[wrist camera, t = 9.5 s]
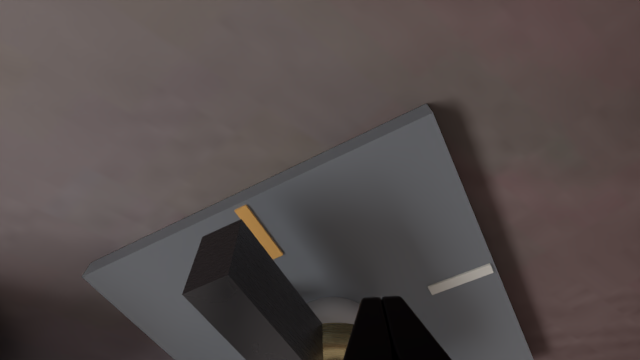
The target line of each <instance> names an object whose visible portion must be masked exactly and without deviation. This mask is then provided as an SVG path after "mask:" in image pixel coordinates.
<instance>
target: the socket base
mask: <svg viewBox="0 0 640 360" xmlns="http://www.w3.org/2000/svg"><path fill="white" fill-rule="evenodd" d="M240 219H242V220H243V222H244V223H245V224H246V225H247V227H248V228H249V229H250V231H251V232H252V233H253V234H254V236H255V237H256V238H257V240H258V241H259V242H260V244H261V245H262V246H263V247H264V249H265V250H266V251H267V253H268V254H269V255H270V257H271V258H272V259H273V260H274V262H275V263H276V264H277V266H278V267H279V268H280V269H281V271H282V272H283V273H284V275H285V276H286V277H287V279H288V280H289V281H290V282H291V284H292V285H293V286H294V288H295V289H296V290H297V291H298V293H299V294H300V295H301V297H302V298H303V299H304V301H305V302H306V303H307V304H308V306H309V307H310V308H311V310H312V311H313V312H314V314H315V315H316V316H317V317H318V319H319V320H320V321H321V323H322V324H323V323H348V324H354V322H355V318H356V315H357V312H358V309H359V305H360V302H361V300H362V298H364V297H380V298H381V299H382V297H384V296H401V297H402V298H403V299H404V301H405V302H406V303H407V304H408V306H409V307H410V308H411V309H412V311H413V312H414V313H415V314H416V316H417V317H418V318H419V319H420V321H421V322H422V323H423V324H424V326H425V327H426V328H427V329H428V331H429V332H430V333H431V334H432V336H433V337H434V338H435V339H436V341H437V342H438V343H439V344H440V346H441V347H442V348H443V349H444V351H445V352H446V353H447V354H448V356H449V357H450V358H451V359H452V360H534V359H533V357H532V354H531V352H530V349H529V347H528V345H527V342H526V340H525V337H524V335H523V332H522V330H521V327H520V325H519V323H518V320H517V318H516V315H515V313H514V310H513V308H512V305H511V303H510V300H509V298H508V296H507V293H506V291H505V288H504V286H503V283H502V281H501V278H500V276H499V273H498V271H497V269H496V266H495V264H494V261H493V259H492V256H491V254H490V251H489V249H488V247H487V244H486V242H485V239H484V237H483V234H482V232H481V229H480V227H479V224H478V222H477V220H476V217H475V215H474V212H473V210H472V207H471V205H470V202H469V200H468V197H467V195H466V193H465V190H464V188H463V185H462V183H461V180H460V178H459V175H458V173H457V170H456V168H455V166H454V163H453V161H452V158H451V156H450V153H449V151H448V148H447V146H446V144H445V141H444V139H443V136H442V134H441V131H440V129H439V126H438V124H437V121H436V119H435V117H434V114H433V112H432V111H431V109H430V108H429V106H428V105H427V104H425V105H422V106H420V107H418V108H416V109H414V110H412V111H410V112H408V113H406V114H403V115H401V116H399V117H397V118H395V119H393V120H391V121H389V122H387V123H385V124H382V125H380V126H378V127H376V128H374V129H372V130H370V131H368V132H366V133H363V134H361V135H359V136H357V137H355V138H353V139H351V140H349V141H347V142H344V143H342V144H340V145H338V146H336V147H334V148H332V149H330V150H328V151H325V152H323V153H321V154H319V155H317V156H315V157H313V158H311V159H309V160H307V161H304V162H302V163H300V164H298V165H296V166H294V167H292V168H290V169H288V170H285V171H283V172H281V173H279V174H277V175H275V176H273V177H271V178H269V179H266V180H264V181H262V182H260V183H258V184H256V185H254V186H252V187H250V188H248V189H245V190H243V191H241V192H239V193H237V194H235V195H233V196H231V197H229V198H226V199H224V200H222V201H220V202H218V203H216V204H214V205H212V206H210V207H207V208H205V209H203V210H201V211H199V212H197V213H195V214H193V215H191V216H188V217H186V218H184V219H182V220H180V221H178V222H176V223H174V224H172V225H170V226H167V227H165V228H163V229H161V230H159V231H157V232H155V233H153V234H151V235H148V236H146V237H144V238H142V239H140V240H138V241H136V242H134V243H132V244H129V245H127V246H125V247H123V248H121V249H119V250H117V251H115V252H113V253H111V254H108V255H106V256H104V257H102V258H100V259H98V260H96V261H94V262H92V263H90V265H89V266H88V268H87V270H86V271H85V273H84V274H83V276H82V278H83V279H85V280H86V281H87V282H88V283H89V284H90V285H91V286H92V287H94V288H95V289H96V290H97V291H98V292H99V293H100V294H101V295H103V296H104V297H105V298H106V299H107V300H108V301H109V302H110V303H111V304H113V305H114V306H115V307H116V308H117V309H118V310H119V311H120V312H122V313H123V314H124V315H125V316H126V317H127V318H128V319H129V320H131V321H132V322H133V323H134V324H135V325H136V326H137V327H138V328H139V329H141V330H142V331H143V332H144V333H145V334H146V335H147V336H148V337H150V338H151V339H152V340H153V341H154V342H155V343H156V344H157V345H159V346H160V347H161V348H162V349H163V350H164V351H165V352H166V353H168V354H169V355H170V356H171V357H172V358H173V359H174V360H246V359H245V358H244V357H243V356H242V355H241V354H240V353H239V352H238V351H237V350H236V349H235V348H234V347H233V346H232V345H231V344H230V343H229V342H228V341H227V340H226V339H225V338H224V337H223V336H222V335H221V334H220V333H219V332H218V331H217V330H216V329H215V328H214V327H213V326H212V325H211V324H210V323H209V322H208V321H207V320H206V319H205V317H204V316H203V315H202V314H201V313H200V312H199V311H198V310H197V309H196V308H195V307H194V306H193V305H192V304H191V303H190V302H189V301H188V300H187V299H186V298H185V297H184V296H183V295H182V293H183V290H184V287H185V285H186V282H187V279H188V276H189V273H190V270H191V268H192V265H193V262H194V259H195V256H196V253H197V251H198V248H199V245H200V242H201V239H202V237H203V236H205V235H207V234H210V233H212V232H214V231H216V230H218V229H221V228H223V227H225V226H227V225H229V224H231V223H234V222H236V221H238V220H240Z"/></svg>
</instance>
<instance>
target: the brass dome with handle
mask: <svg viewBox="0 0 640 360" xmlns="http://www.w3.org/2000/svg"><path fill="white" fill-rule="evenodd" d="M182 295H183V296H184V297H185V298H186V299H187V300H188V301H189V302H190V303H191V304H192V305H193V306H194V307H195V308H196V309H197V310H198V311H199V312H200V313H201V314H202V315H203V316H204V317H205V319H206V320H207V321H208V322H209V323H210V324H211V325H212V326H213V327H214V328H215V329H216V330H217V331H218V332H219V333H220V334H221V335H222V336H223V337H224V338H225V339H226V340H227V341H228V342H229V343H230V344H231V345H232V346H233V347H234V348H235V349H236V350H237V351H238V352H239V353H240V354H241V355H242V356H243V357H244V358H245V359H246V360H343V358H344V355H345V351H346V348H347V345H348V341H349V338H350V335H351V332H352V328H353V325H354V324H348V323H323V324H322V323H321V321H320V320H319V319H318V317H317V316H316V315H315V314H314V312H313V311H312V310H311V308H310V307H309V306H308V304H307V303H306V302H305V301H304V299H303V298H302V297H301V295H300V294H299V293H298V291H297V290H296V289H295V288H294V286H293V285H292V284H291V282H290V281H289V280H288V279H287V277H286V276H285V275H284V273H283V272H282V271H281V269H280V268H279V267H278V266H277V264H276V263H275V262H274V260H273V259H272V258H271V257H270V255H269V254H268V253H267V251H266V250H265V249H264V247H263V246H262V245H261V244H260V242H259V241H258V240H257V238H256V237H255V236H254V234H253V233H252V232H251V231H250V229H249V228H248V227H247V225H246V224H245V223H244V222H243V220H242V219H240V220H238V221H236V222H234V223H231V224H229V225H227V226H225V227H223V228H221V229H218V230H216V231H214V232H212V233H210V234H207V235H205V236H203V237H202V239H201V242H200V245H199V248H198V251H197V253H196V256H195V259H194V262H193V265H192V268H191V270H190V273H189V276H188V279H187V282H186V285H185V287H184V290H183V293H182Z"/></svg>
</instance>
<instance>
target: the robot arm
mask: <svg viewBox="0 0 640 360" xmlns="http://www.w3.org/2000/svg"><path fill="white" fill-rule="evenodd" d="M343 360H452V359H451V358H450V357H449V356H448V354H447V353H446V352H445V351H444V349H443V348H442V347H441V346H440V344H439V343H438V342H437V341H436V339H435V338H434V337H433V336H432V334H431V333H430V332H429V331H428V329H427V328H426V327H425V326H424V324H423V323H422V322H421V321H420V319H419V318H418V317H417V316H416V314H415V313H414V312H413V311H412V309H411V308H410V307H409V306H408V304H407V303H406V302H405V301H404V299H403V298H402V297H401V296H384V297H382V299H381V298H380V297H364V298H362V300H361V302H360V305H359V309H358V312H357V315H356V318H355V322H354V325H353V328H352V332H351V335H350V338H349V341H348V345H347V348H346V351H345V355H344V358H343Z"/></svg>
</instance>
